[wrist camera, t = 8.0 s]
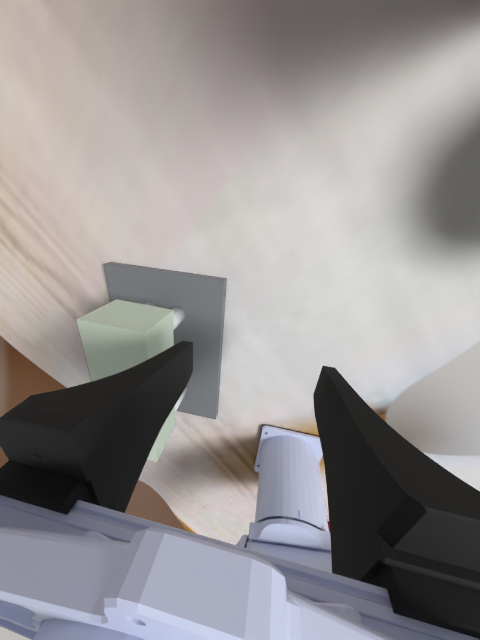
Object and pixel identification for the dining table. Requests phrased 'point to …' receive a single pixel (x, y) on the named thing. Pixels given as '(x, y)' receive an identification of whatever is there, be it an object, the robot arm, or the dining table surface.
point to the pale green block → (127, 345)
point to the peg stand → (182, 322)
